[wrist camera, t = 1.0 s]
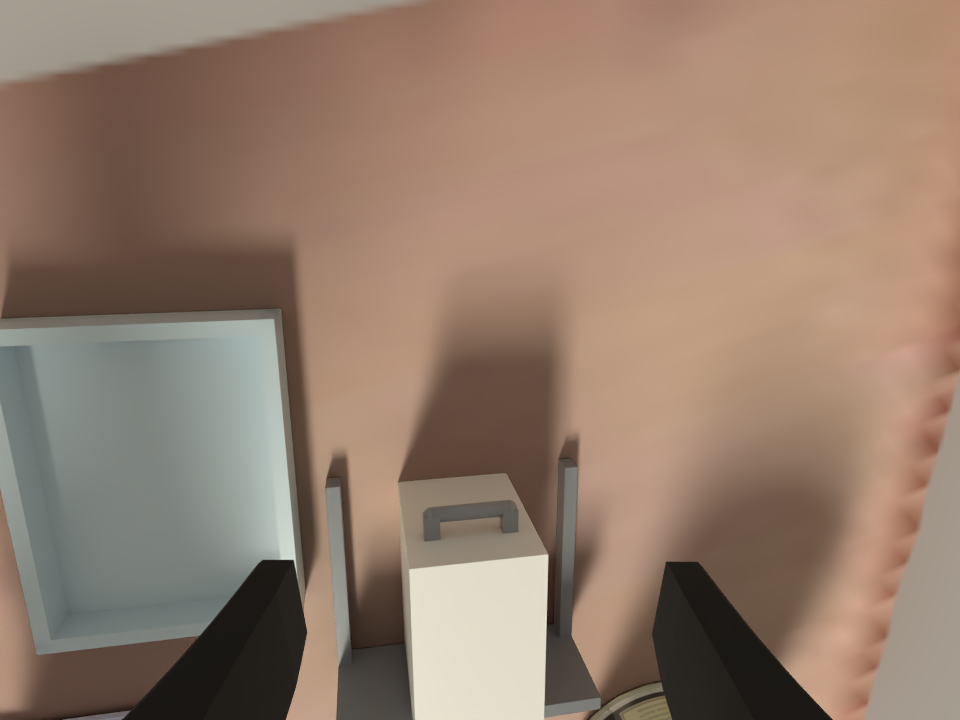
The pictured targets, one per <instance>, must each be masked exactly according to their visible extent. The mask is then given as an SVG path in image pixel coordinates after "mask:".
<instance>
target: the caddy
mask: <svg viewBox="0 0 960 720" xmlns="http://www.w3.org/2000/svg"><path fill="white" fill-rule="evenodd" d="M398 497H399V521H400V545H401V569H402V593H403V617H404V637H405V647H406V657H407V667H408V677H409V687H410V697H411V707H412V716H413V720H544V702H545V664H546V626H547V588H548V553H547V551H546V549H545V547H544V545H543V543H542V541H541V539H540V537H539V535H538V533H537V531H536V529H535V528H534V526H533V524H532V522H531V520H530V518H529V516H528V514H527V512H526V510H525V508H524V506H523V504H522V502H521V501H520V499H519V497H518V495H517V493H516V491H515V489H514V487H513V485H512V483H511V481H510V479H509V477H508V475H507V474H506V473H500V474H488V475H476V476H464V477H452V478H440V479H428V480H416V481H405V482H398Z"/></svg>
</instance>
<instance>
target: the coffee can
mask: <svg viewBox="0 0 960 720" xmlns="http://www.w3.org/2000/svg"><path fill="white" fill-rule="evenodd" d="M589 720H672V718H671V714H670V711H669V708H668V705H667V701H666V698H665V695H664V691H663V688H662V683H661V682H659V683H654V684H648V685H645V686H642V687H640V688H637V689H634V690H631V691H629V692H627V693H625V694H622V695H620V696H618V697H616V698H615V699H613V700H612V701H611V702H609V703H608V704H606V705H605V706H604V707H602V708H601V709H600V710H599V711H597V712H596V713H595V714H594V715H593V716H592V717H591V718H590V719H589Z"/></svg>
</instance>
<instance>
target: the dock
mask: <svg viewBox="0 0 960 720" xmlns="http://www.w3.org/2000/svg"><path fill="white" fill-rule="evenodd" d="M577 476H578V467H577V465H576V464H575V463H574V461H573V460H572V459H571V458H567V459H559V463H558V496H557V530H556V564H555V597H554V624H550V625H547V626H546V664H545V702H544V718H545V717H551V716H558V715H564V714H571V713H577V712H583V711H590V710H596V709H600V703H601V697H600V695H599V693H598V691H597V688H596V686H595V684H594V682H593V680H592V678H591V676H590V674H589V672H588V670H587V667H586V665H585V663H584V661H583V659H582V657H581V655H580V653H579V651H578V649H577V646H576V644H575V642H574V640H573V638H572V636H571V633H572V606H573V580H574V554H575V528H576V502H577ZM325 490H326V503H327V517H328V530H329V543H330V557H331V570H332V584H333V597H334V611H335V624H336V638H337V651H338V665H339V669H338V693H337V716H336V720H413V716H412V707H411V697H410V687H409V677H408V667H407V657H406V647H405V643H402V644H394V645H386V646H378V647H371V648H363V649H355V650H352V641H351V626H350V611H349V596H348V581H347V566H346V551H345V537H344V522H343V507H342V492H341V477H334V478H327V479H326V487H325Z"/></svg>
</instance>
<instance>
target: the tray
mask: <svg viewBox="0 0 960 720" xmlns="http://www.w3.org/2000/svg"><path fill="white" fill-rule="evenodd" d="M0 489H1V494H2V499H3V503H4V508H5V512H6V517H7V521H8V526H9V530H10V535H11V539H12V544H13V549H14V553H15V558H16V562H17V567H18V571H19V576H20V580H21V585H22V590H23V594H24V599H25V603H26V608H27V612H28V617H29V621H30V626H31V631H32V635H33V640H34V644H35V649H36V653H37V655H43V654H52V653H60V652H68V651H77V650H85V649H93V648H102V647H110V646H118V645H127V644H135V643H144V642H152V641H160V640H169V639H177V638H185V637H194V636H200V635H201V633H202V632H203V631H204V630H205V629H206V628H207V626H208V625H209V624H210V623H211V622H212V621H213V619H214V618H215V617H216V616H217V614H218V613H219V612H220V611H221V610H222V608H223V607H224V606H225V605H226V603H227V602H228V601H229V600H230V598H231V597H232V596H233V595H234V593H235V592H236V591H237V590H238V588H239V587H240V586H241V585H242V583H243V582H244V581H245V580H246V578H247V577H248V576H249V574H250V573H251V572H252V571H253V569H254V568H255V567H256V566H257V564H258V563H259V562H261V561H262V560H294V563H295V569H296V574H297V580H298V585H299V591H300V596H301V602H302V607H303V609H304V602H305V594H306V590H305V579H304V567H303V556H302V544H301V533H300V521H299V510H298V498H297V487H296V475H295V464H294V452H293V441H292V429H291V418H290V406H289V395H288V383H287V372H286V360H285V349H284V337H283V326H282V314H281V309H254V310H226V311H198V312H170V313H142V314H114V315H86V316H59V317H31V318H3V319H0Z"/></svg>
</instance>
